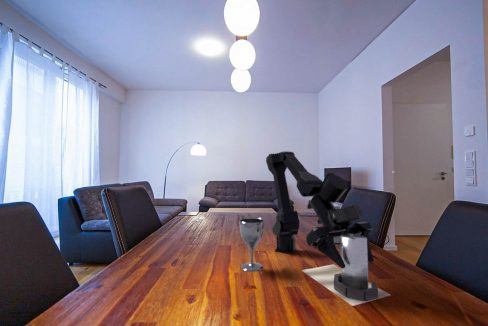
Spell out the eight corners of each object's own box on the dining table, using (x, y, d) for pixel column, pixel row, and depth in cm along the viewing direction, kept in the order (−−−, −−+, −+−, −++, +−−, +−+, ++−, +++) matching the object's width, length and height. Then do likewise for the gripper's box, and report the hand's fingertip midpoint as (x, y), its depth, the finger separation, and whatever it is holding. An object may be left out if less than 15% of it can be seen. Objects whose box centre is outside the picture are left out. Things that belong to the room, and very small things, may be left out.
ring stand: (301, 273, 66) (301, 263, 66) (333, 267, 70) (333, 257, 71) (352, 310, 49) (352, 296, 49) (391, 299, 53) (390, 286, 53)
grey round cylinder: (340, 291, 54) (338, 238, 55) (343, 281, 59) (342, 232, 60) (368, 298, 51) (366, 242, 52) (368, 287, 56) (367, 235, 57)
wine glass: (266, 263, 74) (266, 218, 75) (260, 273, 66) (260, 223, 67) (244, 260, 77) (244, 217, 77) (236, 270, 69) (235, 221, 70)
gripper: (312, 196, 57) (346, 254, 46) (366, 193, 63) (407, 243, 52) (295, 220, 64) (322, 276, 53) (345, 216, 70) (378, 264, 59)
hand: (358, 264), depth 54 cm, fingers open, 9 cm apart
